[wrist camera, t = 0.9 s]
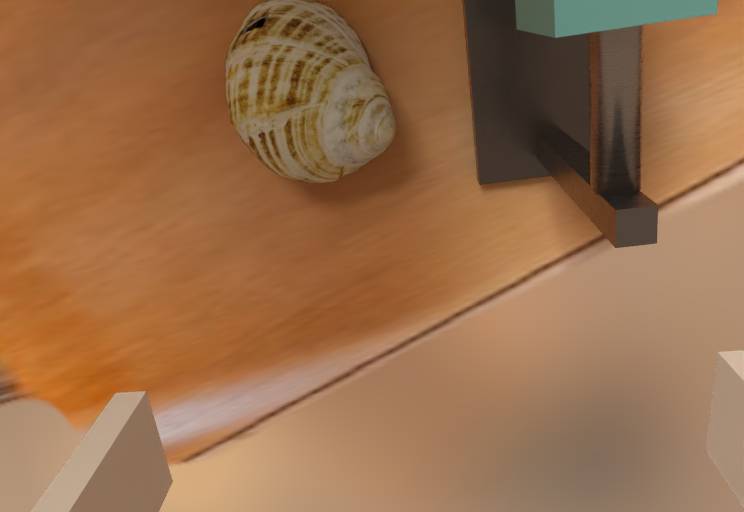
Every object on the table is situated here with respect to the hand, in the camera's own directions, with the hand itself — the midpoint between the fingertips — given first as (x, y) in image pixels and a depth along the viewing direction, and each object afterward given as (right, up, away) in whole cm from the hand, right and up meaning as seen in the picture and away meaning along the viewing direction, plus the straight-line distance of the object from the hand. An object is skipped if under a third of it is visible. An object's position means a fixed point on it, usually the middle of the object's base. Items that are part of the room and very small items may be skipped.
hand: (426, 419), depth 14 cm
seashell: (-5, +14, +25) cm, 29 cm away
